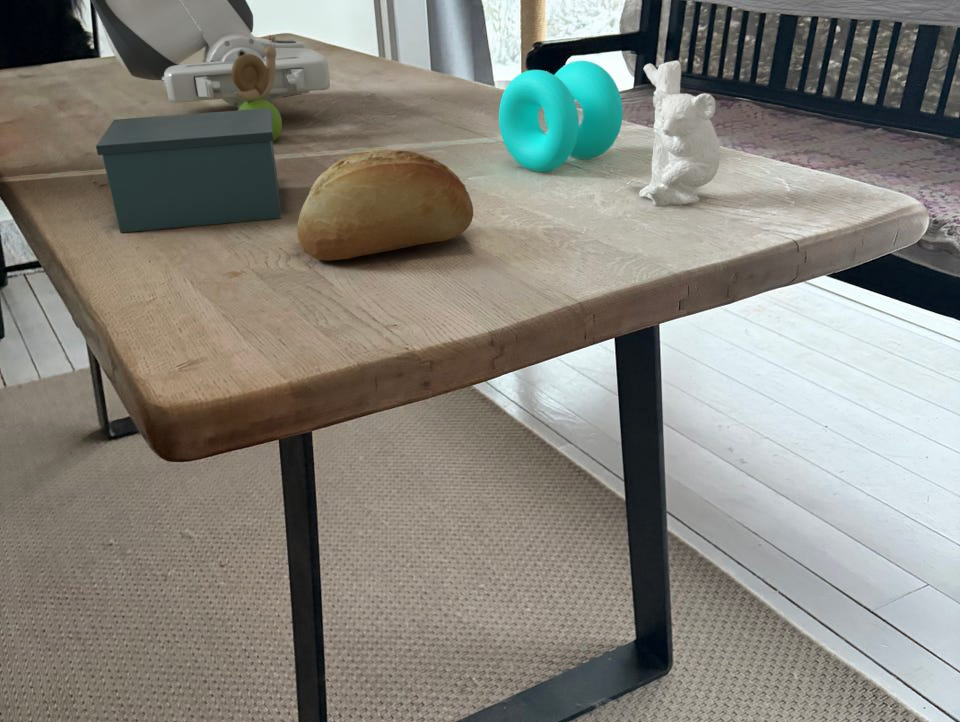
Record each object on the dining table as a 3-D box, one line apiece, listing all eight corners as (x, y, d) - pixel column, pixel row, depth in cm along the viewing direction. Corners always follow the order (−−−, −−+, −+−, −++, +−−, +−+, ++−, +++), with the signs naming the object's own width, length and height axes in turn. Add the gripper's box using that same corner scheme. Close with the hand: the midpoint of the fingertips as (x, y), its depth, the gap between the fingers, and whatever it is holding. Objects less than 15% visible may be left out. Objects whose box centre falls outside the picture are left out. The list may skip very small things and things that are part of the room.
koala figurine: (615, 196, 90) (620, 61, 84) (673, 185, 93) (681, 54, 87) (670, 218, 84) (679, 73, 78) (730, 206, 86) (744, 65, 80)
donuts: (626, 162, 102) (630, 62, 97) (564, 181, 96) (565, 76, 91) (556, 149, 108) (556, 55, 103) (494, 166, 102) (491, 67, 97)
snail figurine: (300, 142, 116) (286, 36, 110) (255, 152, 112) (239, 43, 106) (274, 137, 120) (260, 33, 114) (230, 146, 116) (213, 40, 110)
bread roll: (496, 251, 78) (494, 151, 74) (319, 282, 73) (305, 177, 69) (452, 221, 86) (447, 129, 82) (289, 247, 81) (275, 151, 77)
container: (116, 234, 86) (95, 145, 82) (131, 199, 96) (113, 119, 92) (284, 219, 88) (272, 132, 84) (281, 186, 98) (270, 107, 94)
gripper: (155, 52, 121) (160, 66, 110) (314, 40, 127) (334, 52, 115) (165, 104, 125) (170, 123, 113) (320, 90, 130) (340, 106, 118)
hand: (255, 87), depth 114 cm, fingers open, 8 cm apart
